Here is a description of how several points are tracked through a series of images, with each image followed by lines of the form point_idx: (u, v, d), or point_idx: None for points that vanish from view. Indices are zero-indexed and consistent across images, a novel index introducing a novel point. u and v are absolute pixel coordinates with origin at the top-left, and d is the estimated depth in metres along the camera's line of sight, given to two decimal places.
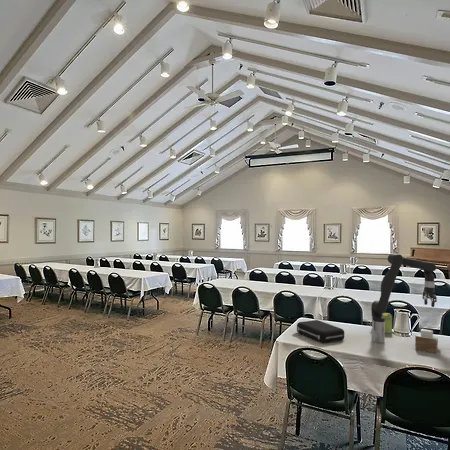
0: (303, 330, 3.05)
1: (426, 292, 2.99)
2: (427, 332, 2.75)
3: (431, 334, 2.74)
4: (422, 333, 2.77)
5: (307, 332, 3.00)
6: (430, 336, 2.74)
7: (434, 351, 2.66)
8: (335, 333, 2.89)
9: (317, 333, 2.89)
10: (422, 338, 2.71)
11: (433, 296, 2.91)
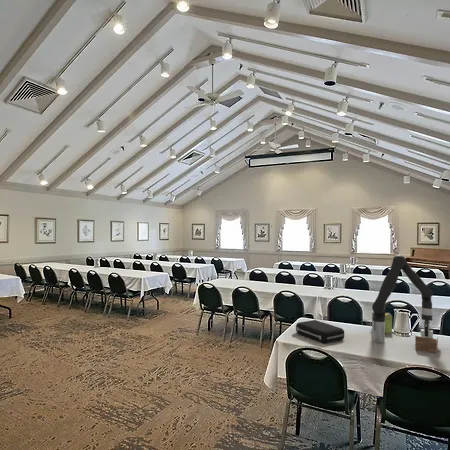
0: (303, 330, 3.04)
1: (428, 321, 2.75)
2: None
3: (431, 334, 2.74)
4: (422, 333, 2.77)
5: (307, 332, 2.99)
6: (430, 336, 2.74)
7: (434, 351, 2.66)
8: (336, 333, 2.90)
9: (318, 333, 2.89)
10: (422, 338, 2.71)
11: None
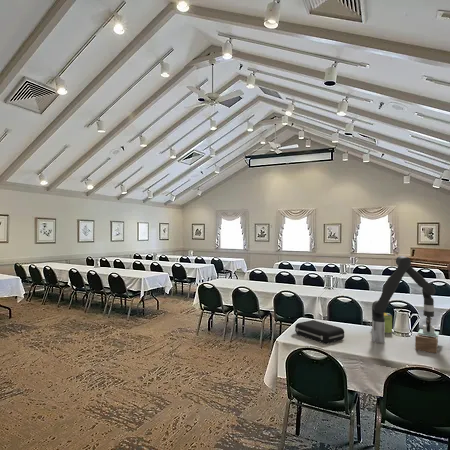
0: (303, 331, 3.02)
1: (429, 317, 2.87)
2: None
3: (433, 330, 2.86)
4: (424, 329, 2.89)
5: (308, 333, 2.98)
6: (432, 331, 2.86)
7: (434, 351, 2.66)
8: (337, 333, 2.90)
9: (320, 333, 2.88)
10: (422, 338, 2.71)
11: None
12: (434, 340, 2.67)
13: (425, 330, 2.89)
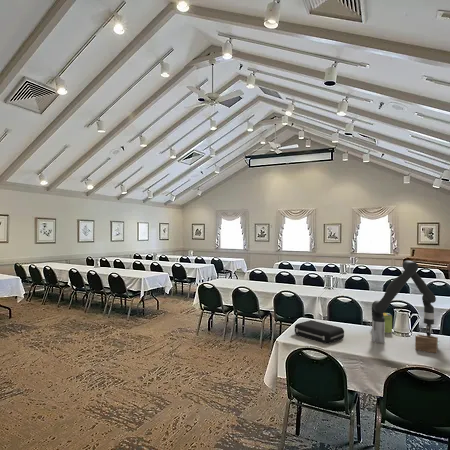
0: (303, 331, 3.01)
1: (430, 325, 2.90)
2: None
3: None
4: None
5: (308, 333, 2.97)
6: None
7: (434, 351, 2.66)
8: (337, 332, 2.91)
9: (321, 334, 2.87)
10: (422, 338, 2.71)
11: None
12: (434, 340, 2.67)
13: None
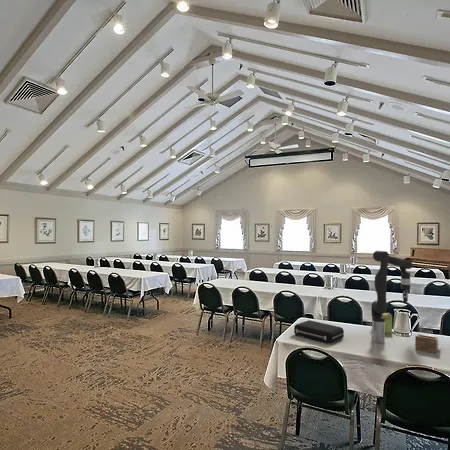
0: (304, 332, 2.99)
1: (406, 290, 3.03)
2: None
3: None
4: None
5: (309, 334, 2.96)
6: None
7: (434, 351, 2.66)
8: (338, 332, 2.92)
9: (323, 334, 2.87)
10: (422, 338, 2.71)
11: None
12: (434, 340, 2.67)
13: None
